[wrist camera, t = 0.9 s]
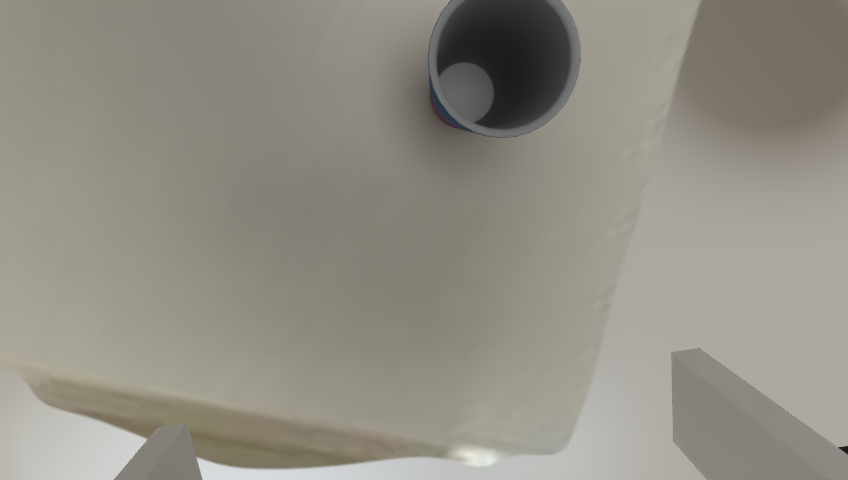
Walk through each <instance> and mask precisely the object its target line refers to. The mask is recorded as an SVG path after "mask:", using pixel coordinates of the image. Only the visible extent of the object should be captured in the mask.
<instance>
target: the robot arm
mask: <svg viewBox="0 0 848 480" xmlns="http://www.w3.org/2000/svg"><path fill="white" fill-rule="evenodd" d="M671 356H672V398H673V400H672V404H673V442H674V443H675V444H676V445H677V446H678V447H679V448H680V450H681V451H682V452H683V453H684V454H685V455H686V456H687V458H688V459H689V460H690V461H691V462H692V463H693V464H694V465H695V467H696V468H697V469H698V470H699V471H700V472H701V473H702V474H703V475H704V477H705V478H706V479H707V480H848V446H845V447H836V446H835V445H834V444H832V443H831V442H829V441H828V440H827V439H825V438H824V437H822V436H821V435H819V434H818V433H817V432H815V431H814V430H813V429H811V428H810V427H808V426H807V425H806V424H804V423H803V422H801V421H800V420H799V419H797V418H796V417H795V416H793V415H792V414H790V413H789V412H788V411H786V410H785V409H783V408H782V407H781V406H779V405H778V404H776V403H775V402H774V401H772V400H771V399H769V398H768V397H767V396H765V395H764V394H762V393H761V392H760V391H758V390H757V389H756V388H754V387H753V386H751V385H750V384H749V383H747V382H746V381H744V380H743V379H742V378H740V377H739V376H737V375H736V374H735V373H733V372H732V371H730V370H729V369H728V368H726V367H725V366H723V365H722V364H721V363H719V362H718V361H716V360H715V359H714V358H712V357H711V356H709V355H708V354H707V353H705V352H704V351H702V350H701V349H699V348H697V349H690V350H684V351H677V352H672V353H671ZM114 480H202V476H201V473H200V469H199V465H198V462H197V458H196V455H195V451H194V447H193V444H192V440H191V437H190V433H189V429H188V426H187V423H184V424H177V425H170V426H163V427H158V428H157V429H156V430H155V431H154V433H153V434H152V435H151V436H150V437H149V439H148V440H147V441H146V442H145V443H144V445H143V446H142V447H141V448H140V449H139V450H138V452H137V453H136V454H135V455H134V457H133V458H132V459H131V460H130V461H129V462H128V464H127V465H126V466H125V467H124V468H123V470H122V471H121V472H120V473H119V474H118V475H117V477H116V478H115V479H114Z"/></svg>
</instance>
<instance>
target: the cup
mask: <svg viewBox="0 0 848 480" xmlns="http://www.w3.org/2000/svg"><path fill="white" fill-rule="evenodd" d="M580 61H581V58H580V41H579V36H578V31H577V28H576V26H575V23H574V21H573V18H572V16H571V14H570V13H569V11H568V10H567V8H566V7H565V5H564V4H563V2H562V1H561V0H451V1H450V2H449V3H448V5H447V6H446V7H445V8H444V10H443V11H442V12H441V14H440V16H439V18H438V20H437V22H436V24H435V26H434V29H433V32H432V36H431V39H430V44H429V53H428V65H429V81H430V96H431V103H432V106H433V109H434V111H435V113H436V114H437V115H438V117H439V118H440V119H441V120H442V121H443V122H445V123H446V124H448V125H450V126H453V127H456V128H459V129H463V130H466V131H470V132H473V133H477V134H481V135H484V136H489V137H498V138H506V137H516V136H520V135H523V134H526V133H530V132H532V131H534V130H536V129H538V128H539V127H541V126H543V125H544V124H546V123H547V122H548V121H549V120H551V119H552V118H553V117H554V116H555V115H556V114H557V113H558V112H559V111H560V110H561V108H562V107H563V106H564V105H565V103H566V102H567V100H568V98H569V97H570V95H571V93H572V91H573V89H574V86H575V83H576V80H577V78H578V73H579V67H580Z"/></svg>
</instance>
